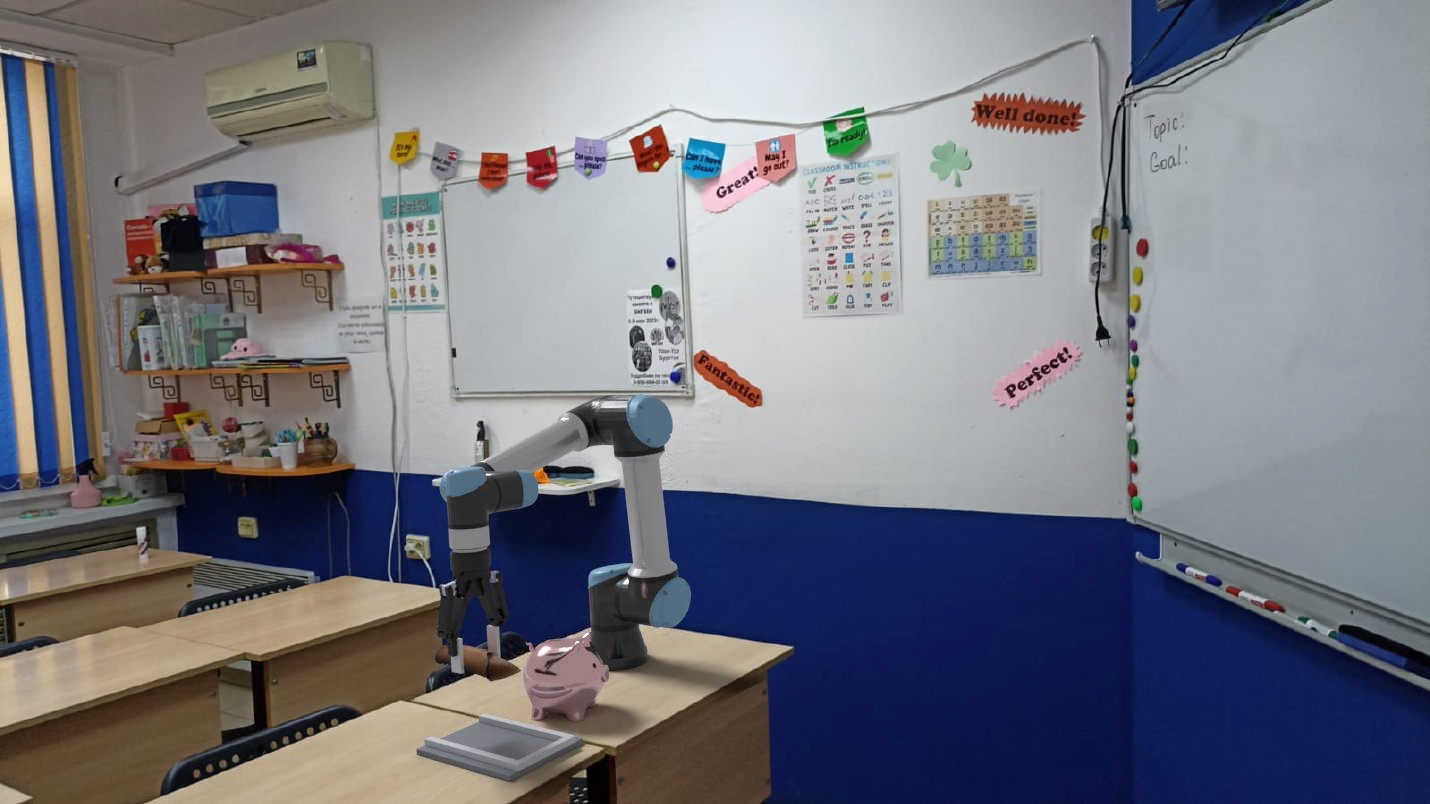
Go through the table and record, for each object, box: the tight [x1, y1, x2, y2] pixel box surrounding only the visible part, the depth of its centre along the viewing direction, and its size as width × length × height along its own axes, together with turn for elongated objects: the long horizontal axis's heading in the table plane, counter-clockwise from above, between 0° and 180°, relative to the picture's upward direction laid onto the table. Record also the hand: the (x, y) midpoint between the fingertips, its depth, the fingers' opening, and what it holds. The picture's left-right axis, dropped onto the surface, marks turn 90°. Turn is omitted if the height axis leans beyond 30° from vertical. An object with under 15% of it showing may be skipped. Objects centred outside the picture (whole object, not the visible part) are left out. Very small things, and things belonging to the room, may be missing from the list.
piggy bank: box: [522, 631, 610, 722], centre depth 204 cm, size 15×18×16 cm
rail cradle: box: [416, 713, 584, 782], centre depth 186 cm, size 19×25×2 cm
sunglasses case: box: [434, 644, 522, 683], centre depth 188 cm, size 18×7×7 cm, turn 47°
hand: (476, 665), depth 188 cm, fingers closed on sunglasses case, 8 cm apart
